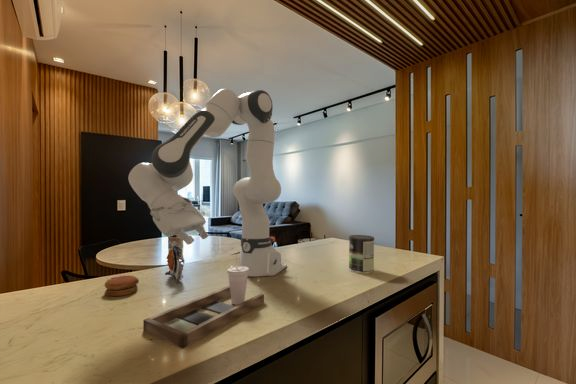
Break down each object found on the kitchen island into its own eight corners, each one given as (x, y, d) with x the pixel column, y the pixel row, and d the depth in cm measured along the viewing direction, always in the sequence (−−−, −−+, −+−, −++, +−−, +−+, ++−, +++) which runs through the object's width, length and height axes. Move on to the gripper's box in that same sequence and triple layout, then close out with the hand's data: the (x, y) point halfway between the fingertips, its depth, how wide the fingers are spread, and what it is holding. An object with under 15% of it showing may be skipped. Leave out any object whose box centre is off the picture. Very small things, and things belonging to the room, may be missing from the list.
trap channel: (228, 293, 87) (228, 285, 87) (264, 302, 80) (264, 294, 80) (143, 330, 63) (143, 319, 63) (182, 348, 56) (182, 336, 56)
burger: (134, 295, 85) (134, 280, 85) (99, 299, 82) (100, 283, 82) (140, 285, 95) (140, 272, 95) (109, 288, 92) (109, 274, 92)
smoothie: (222, 302, 80) (222, 254, 80) (240, 296, 85) (240, 250, 85) (235, 308, 76) (235, 257, 76) (253, 301, 80) (253, 254, 81)
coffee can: (350, 273, 111) (350, 238, 111) (348, 266, 121) (348, 234, 121) (376, 274, 109) (376, 239, 109) (372, 267, 119) (372, 235, 120)
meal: (162, 274, 108) (163, 241, 108) (174, 272, 110) (174, 240, 110) (172, 284, 95) (172, 247, 96) (184, 282, 98) (185, 245, 98)
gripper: (155, 200, 73) (188, 238, 72) (192, 199, 93) (219, 228, 92) (139, 216, 74) (172, 254, 72) (180, 212, 94) (206, 241, 92)
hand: (199, 240), depth 82 cm, fingers open, 8 cm apart
